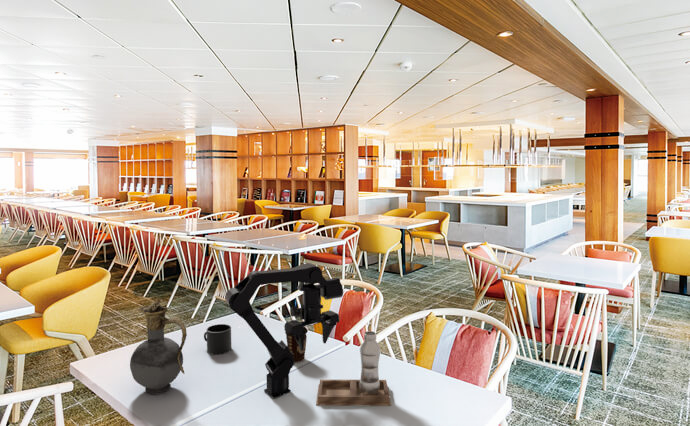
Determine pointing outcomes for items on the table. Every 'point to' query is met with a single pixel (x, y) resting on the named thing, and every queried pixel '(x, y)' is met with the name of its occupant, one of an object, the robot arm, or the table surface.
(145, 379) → the pitcher
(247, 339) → the table surface
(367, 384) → the silver metal bottle
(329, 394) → the wooden divided tray
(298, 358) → the coffee cup
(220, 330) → the mug
